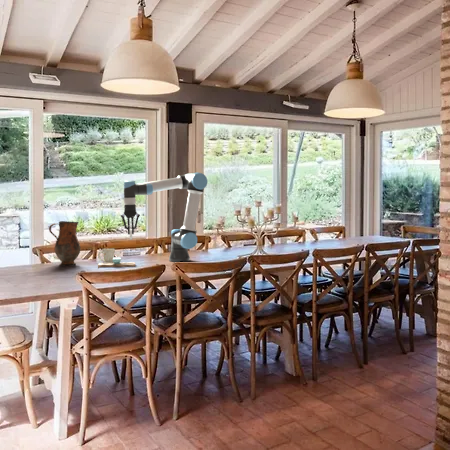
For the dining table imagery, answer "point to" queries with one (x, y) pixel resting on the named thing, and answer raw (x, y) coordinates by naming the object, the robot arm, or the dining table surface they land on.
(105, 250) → the mug
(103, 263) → the wooden flat board
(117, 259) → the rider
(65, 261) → the pitcher
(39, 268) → the dining table surface
